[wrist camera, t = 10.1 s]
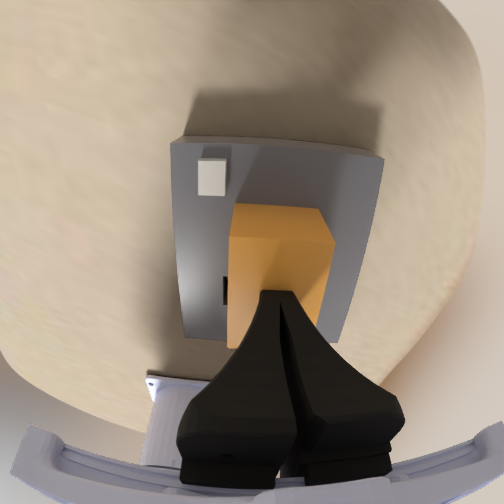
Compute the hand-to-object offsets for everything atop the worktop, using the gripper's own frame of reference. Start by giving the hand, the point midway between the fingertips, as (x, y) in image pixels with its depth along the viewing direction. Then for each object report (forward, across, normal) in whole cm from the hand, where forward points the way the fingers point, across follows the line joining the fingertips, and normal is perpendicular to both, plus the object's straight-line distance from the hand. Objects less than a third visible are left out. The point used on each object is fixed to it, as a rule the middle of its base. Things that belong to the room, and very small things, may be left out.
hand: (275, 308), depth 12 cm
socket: (+6, 0, 0) cm, 6 cm away
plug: (+6, 0, 0) cm, 6 cm away
